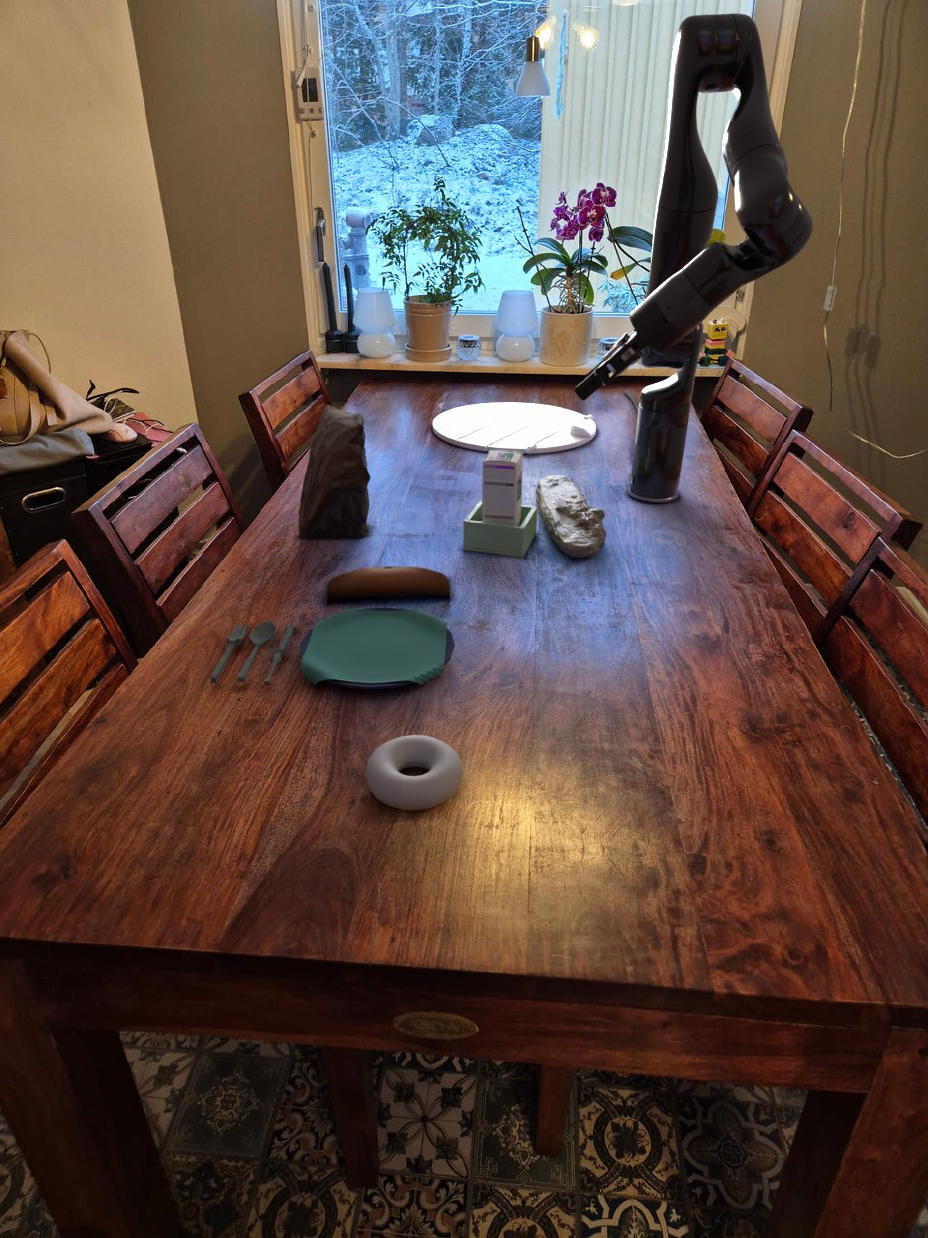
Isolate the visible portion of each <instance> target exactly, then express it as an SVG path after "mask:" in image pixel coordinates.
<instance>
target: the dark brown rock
mask: <svg viewBox="0 0 928 1238" xmlns="http://www.w3.org/2000/svg"><path fill="white" fill-rule="evenodd" d="M318 421H319V422H318V425H317V428H316V431H315V433H314V436H313V439H312V442H311V445H310V449H309V455H308V456H309V457H308V462H307V466H306V472H305V475H304V478H303V483H302V489H301V494H300V504H299V508H298V520H297V521H298V522H297V523H298V525H297V528H298V532H299V533H298V539H361V538H365V537H368V536H369V533H370V527H369V526H368V523H367V522H368V516H369V511H370V497H369V495H370V494H369V489H368V485H369V482H370V481H371V477H372V476H371V474H370V472H369V470H368V462H367V455H366V453H367V452H366V446H365V444H366V433H365V427H364V424H365V417H364V416H363V415H362V414H361V413H353V412H349V411H343V410H340V409H338V407H336V406H334V405H328V404H325V405H324V407H323V411H322V413H321V416H320V418H319V420H318Z"/></svg>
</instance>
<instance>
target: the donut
mask: <svg viewBox="0 0 928 1238" xmlns="http://www.w3.org/2000/svg"><path fill="white" fill-rule="evenodd" d="M407 768H409V769H410V768H421V769H426V770H427V771H428V772H425V773H424V774H421V775H406V774H403V773H401V771H402V770H405V769H407ZM364 771H365V772H364V775H365V780H366V784H367V788H368V789H369V791H370V792H371V793H372V794H373V796H374V797H375V798H376V799H377V800H378V801H380V802H382V803H383V804H384V805H386V806H388V807H392V808H394V809H398V810H401V811H421V810H428V809H431V808H434V807H437V806H439V805H442V804H443V803H445V802H446V801H447V800H449V799H450V798H451V797H453V796H454V795H455V793H456V792H457V790H458V788H459V787H460V785H461V783H462V779H463V771H464V770H463V764H462V761H461V758H460V756H459V754H458V752H457V751H455V749H453V748H452V747H451V745H450V744H447V743H446V742H444V741H442V740H440V739H439V738H435V737H432V736H429V735H423V734H421V735H420V734H410V735H403V736H398V737H396V738H392V739H391V740H387V741H386V742H384V743H383V744H381V745H380V746H378V747H376V749H375V750H374V751H373V753H372V754H371V755H370V756H369V758H368V760H367V764H366V766H365V770H364Z"/></svg>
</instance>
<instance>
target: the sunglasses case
mask: <svg viewBox="0 0 928 1238" xmlns="http://www.w3.org/2000/svg"><path fill="white" fill-rule="evenodd" d="M437 596H438V597H439V596H440V597H441V596H442V597H449V598H451V585H450V581H449V579H448V576H446V575H445V574H444V573H443V572H440V571H436V570H433V569H429V568H424V567H420V566H411V565H410V566H409V565H407V566H405V565H404V566H401V565H399V566H393V565H392V566H391V565H385V566H373V567H363V568H362V567H361V568H358V569H353V570H350V571H346V572H344V573H340V574H338V575H336V576H333V577H331V579H330V580H329V581H328V583H327V587H326V602H327V603H328V602H338V601H346V600H347V601H348V600H357V599H368V598H372V597H373V598H374V597H375V598H395V597H437Z"/></svg>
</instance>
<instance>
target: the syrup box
mask: <svg viewBox="0 0 928 1238" xmlns="http://www.w3.org/2000/svg"><path fill="white" fill-rule="evenodd" d="M523 456H524V454H522V453H521V452H515V451H506V450H495V451H491V450H490V451H489V452H487V455H486V456H485V457H484V459H483V460H482V483H481V484H482V485H481V486H482V487H481V489H482V490H481V491H482V493H481V494H482V495H481V496H482V498H481V500H482V522H488V523H496V524H504V525H512V526H521V505H522V500H523V499H522V498H523V497H522V495H523V494H522V493H523V460H524V459H523Z"/></svg>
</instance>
